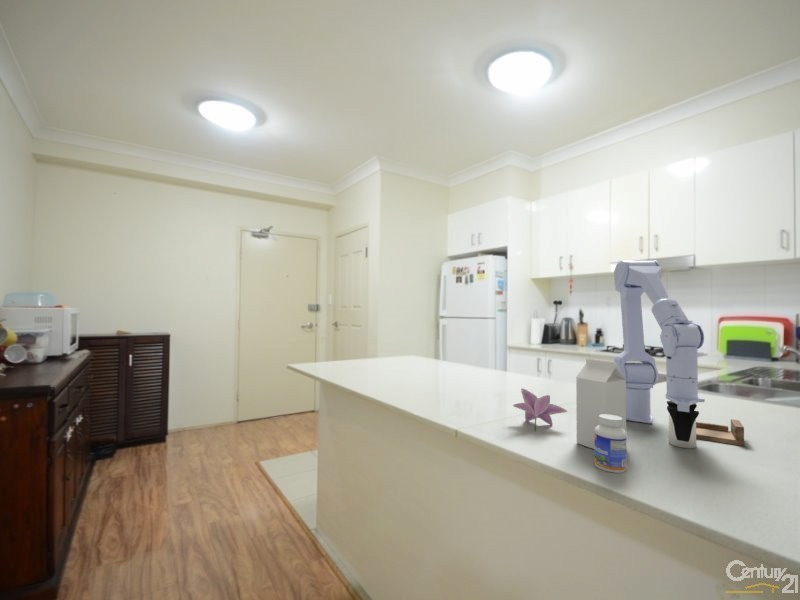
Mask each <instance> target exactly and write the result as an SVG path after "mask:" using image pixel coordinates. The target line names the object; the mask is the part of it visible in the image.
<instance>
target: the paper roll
mask: <svg viewBox="0 0 800 600" xmlns="http://www.w3.org/2000/svg"><path fill="white" fill-rule="evenodd" d="M696 422H697V418H696V419H695V421H694V424H693V427H692V431H691V436H690V439H689V442H686V441H680V440H677V438H676V434H675V429H674V424H673V421H672V418H671V416H670V414H669V415H668V443H669V444H670V445H671V446H675V447H679V448H684V449H696V448H697V439H696Z"/></svg>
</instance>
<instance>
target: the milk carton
mask: <svg viewBox="0 0 800 600" xmlns="http://www.w3.org/2000/svg"><path fill="white" fill-rule="evenodd" d="M585 360H586V362H585V364H584V366H583V367H582V369H580V371H579V373H578V374H577V376H576V382H575V383H576V444H579V445H580V446H584V447H587V448H590V449H593V450H595V427H596V426H598V425H600V423H599V415H601V414H610V415H616V416H619V417H621V418H622V420H623V425H622V426H621V428H622V429H624V430H625V432H626V433H627V420H626V379H625V378H624V377H623V375H622V374H621V373H620V372H619V370H618V369H617V368H616V362H614V361H609V360H608V361H607V360H600V359H594V358H593V359H592V358H586V359H585Z"/></svg>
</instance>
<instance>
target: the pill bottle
mask: <svg viewBox="0 0 800 600" xmlns="http://www.w3.org/2000/svg"><path fill="white" fill-rule="evenodd" d="M599 423H600V425H598V426H596V427H595V449H594V456H593V457H594V458H593V459H594V465H595V467H597V468H598V469H599V470H601V471H605V472H607V473H617V474H618V473H619V474H620V473H621V474H622V473H624V472H626V470H627V431H626V432H625V430H624V429H622V428H621V426H622V425H623V420H622V418H621V417H619V416H616V415H610V414H601V415H599Z"/></svg>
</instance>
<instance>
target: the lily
mask: <svg viewBox="0 0 800 600" xmlns="http://www.w3.org/2000/svg"><path fill="white" fill-rule="evenodd" d="M520 393H521V395H522V399H523V401H524V402H520V403H515V404H513V405H512V406H513V407H514V408H516V409H519V410H522V411H524V414H525V415H524V420H525V421H526V422H530V421H533V420H534V432H536V431H537V419H538V418H539V419H540V420H542V421H543V422H545V423H547V424H548V425H549V426H553V425H554V424H553V419H552V416H551V415H556V414H561V413H562V414H564V413H568V410H567V409H565V408H563V407H561V406H559V405H557V404H553V403H550V402H551V396H550V394H546V395H544V396H541V397H537V396H536V395H535V394H534V393H533V392H531V391H529V390H527V389H525V388H521V389H520Z"/></svg>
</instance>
